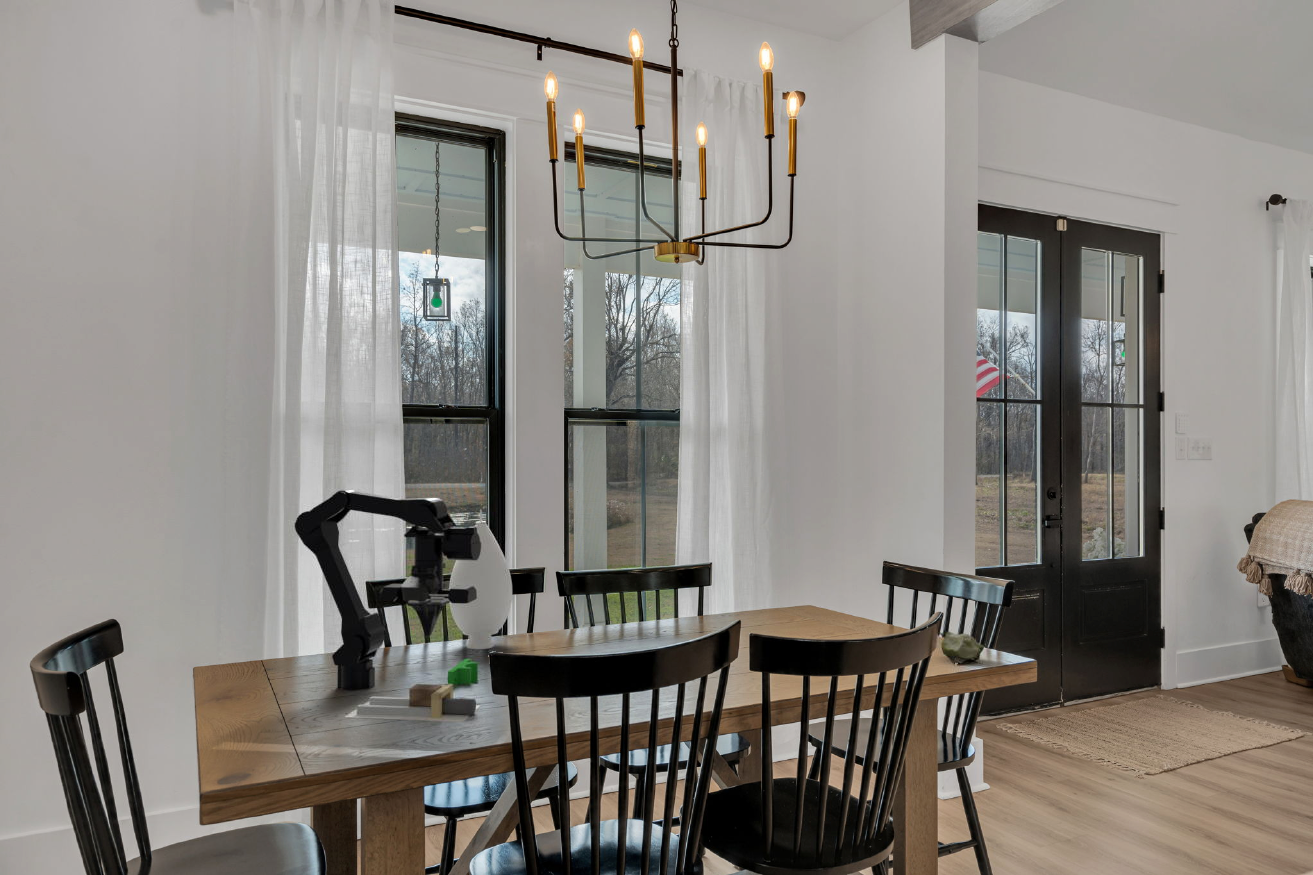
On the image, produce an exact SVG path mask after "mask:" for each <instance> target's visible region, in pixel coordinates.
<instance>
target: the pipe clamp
mask: <svg viewBox="0 0 1313 875" xmlns="http://www.w3.org/2000/svg"><path fill="white" fill-rule="evenodd" d="M478 683H479V662H475V661H472V659H471V658H465V659H463V660H462V661H461V662H459V663H457V664H456V665H455V666H454V667H452V668H450V669H449V670H448V671H447V684H453V688H454V687H456V686H457V685H473V684H478Z"/></svg>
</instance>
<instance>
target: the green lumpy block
mask: <svg viewBox="0 0 1313 875" xmlns="http://www.w3.org/2000/svg"><path fill="white" fill-rule="evenodd" d="M939 634H940V635H941V636H942V637H943V639H942V641H941V652H942V654H943V655H945V656H946V657H947V658H948V659H949V660H950V662H951V663H952V664H953V663H960V664H962V663H964V662H966V661H967V660H971V659H972V660H973V659H974V660H977V661H979V660H980V659H981V658H980V657H981V653H982V652H983V651H984V648H985V646H984V645H982V644H981V643H979V642H977V640H976V639H975V638H974V636H971V635H970V634H968V633H959V634H956V633H954V632H951V631H949V630H948V631H947V632H946V633H945V635H943V633H942V632H939ZM974 660H973V661H974Z"/></svg>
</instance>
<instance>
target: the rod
mask: <svg viewBox="0 0 1313 875" xmlns="http://www.w3.org/2000/svg"><path fill="white" fill-rule="evenodd" d="M476 705H477V700H476V699H474V698H456V697H455V698H454V697H453V698H442V714H461V715H470V716H473V715H474V716H475V713H476Z"/></svg>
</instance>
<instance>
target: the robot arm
mask: <svg viewBox="0 0 1313 875" xmlns="http://www.w3.org/2000/svg"><path fill="white" fill-rule="evenodd" d="M351 511H355V512H362V513H366V514H367V513H368V514H374V515H381V516H387V517H393V518H398V519H400V520H401V521H403V522H405V523H408V524H410V525H412V526H411V528H410V529H409V530H408V531H407V532H406V533H404V535H403V536H404V538H411V539H412V538H414V559H413V560H414V565H411V570H410V572H411V573H410V576H408V577H407V578H406V579H405V580H404V581H403V583H390V584H388V585H385V586H383V587H382V588H381V589H380V591H379V601H380V602H395V601H396V600H397V599H398V598H403V601H405V602H406V606H407V607H411V608H412V609H413V610H414V611H415V613H416V614H417V617H418V620H419V621H420V624H421V628H422V629H423V633H424V635H425V637H430V636H432V634H433V631H434V629H435V626H436V624H437V621H438V619H439V617H440V615H441V612H442V611H443V609H444V607H445V606H446V605H448V604H449V603H450V602H451V603H460V604H465V603H469V602H471V601H473V600H475V599H477V591H476V589H475V587H474V586H456V587H453V588H451V589H449V588H446V582H444V569H445V568H446V562H444V557H446V559H448V560H449V561H456V560H475V561H476V560H477V559H478V558H479V556H480V552H481V542H480V538H479V535H478V533H477V527H475V526H468V527H459V526H457V524H456V522H455V521H454V519H453V518H452V516H450V514H449V512H448V508H447V505H446V504H445V502H444V500H442V499H441V498H439V497H421V498H418V497H417V498H400V497H393V496H389V495H388V496H387V495H380V494H373V493H367V492H361V491H356V490H353V489H344V490H343V489H342V490H338V491H336V492H335V493H334V494H333V495H331V496H330V497H329V498H328V499H326V500H324V501H322V502H321V503H319V504H317V505H316V506H314V507H313V508H311V509H310V510H307V511H303V512H302V513H300V514H299V515H298V516H297V517H296V520H295V522H294V530H295V532H296V534H297V536H298V537H299V539H300V541H301V542H302V543H303V546H305V547H306V548H307V549H308V550H309V551H310V552H312V553H313V554H314V555H315V557H316V560H317V562H318V564H319V566H320V570H321V571H322V574H323V577H324V579H325V581H326V583H327V586H328V588H329V592H330V593H331V596H332V598H333V601H334V602H335V605H336V608H337V610H338V613H339V615H340V617H341V624H340V626H341V628H340V635H341V639H342V643H343V644H342V645H340V647H339V648H338V649H337V650H336V651H335V652H334V653H333V654H332V656H331V659H332V661H333V664H334V666H337V676H336V677H337V679H336V680H337V687H336V688H337V689H341V690H344V691H345V690H346V691H357V690H369V689H371V688H373V687H375V685H376V667H374V665H373V663H374V659H371V658H374V657H376V654H377V652H378V650H379V649H380V648H381V647H382V646H383V644H384V641H385V632H384V631H386V627H385V626H384V625H383V623H382V622H381V618H380V614H379V613H378V612H377V611H376V612H373V613H370V612H369V611H368V610H367V609H366V608H365V607H364V604H363V602H362V600H361V597H360V594H359V592H358V590H357V587H356V586H355V583H354V580H353V578H352V575H351V573H350V571H349V568H348V566H347V563H346V561H345V559H344V556H343V555H342V552H341V549H340V546H339V542H340V541H339V540H340V529H339V525H338V524H339V523H340V522H341V521H343V520H344V519H345V518H346V516H347V515H348V514H349V513H350V512H351Z"/></svg>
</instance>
